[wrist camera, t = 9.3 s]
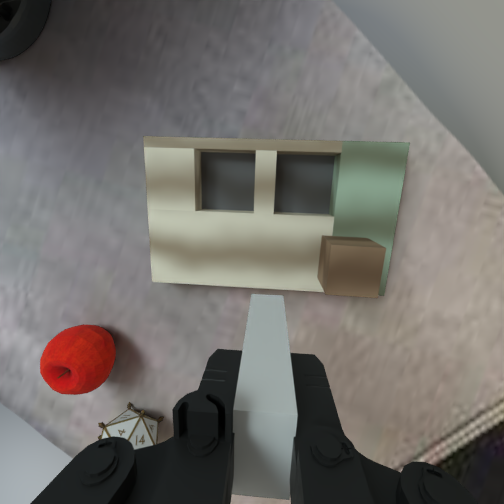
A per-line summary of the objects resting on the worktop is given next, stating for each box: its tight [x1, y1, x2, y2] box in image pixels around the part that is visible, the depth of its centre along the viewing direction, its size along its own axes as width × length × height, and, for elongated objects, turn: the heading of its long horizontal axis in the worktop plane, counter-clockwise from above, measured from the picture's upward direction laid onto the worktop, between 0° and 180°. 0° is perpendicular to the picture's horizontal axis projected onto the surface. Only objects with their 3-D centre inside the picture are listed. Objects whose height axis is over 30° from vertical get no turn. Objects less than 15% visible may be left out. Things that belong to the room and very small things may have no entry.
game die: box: [98, 402, 163, 450], centre depth 34 cm, size 9×8×10 cm
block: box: [317, 235, 386, 298], centre depth 25 cm, size 4×4×4 cm
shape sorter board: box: [143, 136, 410, 296], centre depth 28 cm, size 15×25×3 cm, turn 88°
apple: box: [40, 325, 116, 395], centre depth 32 cm, size 8×8×7 cm
